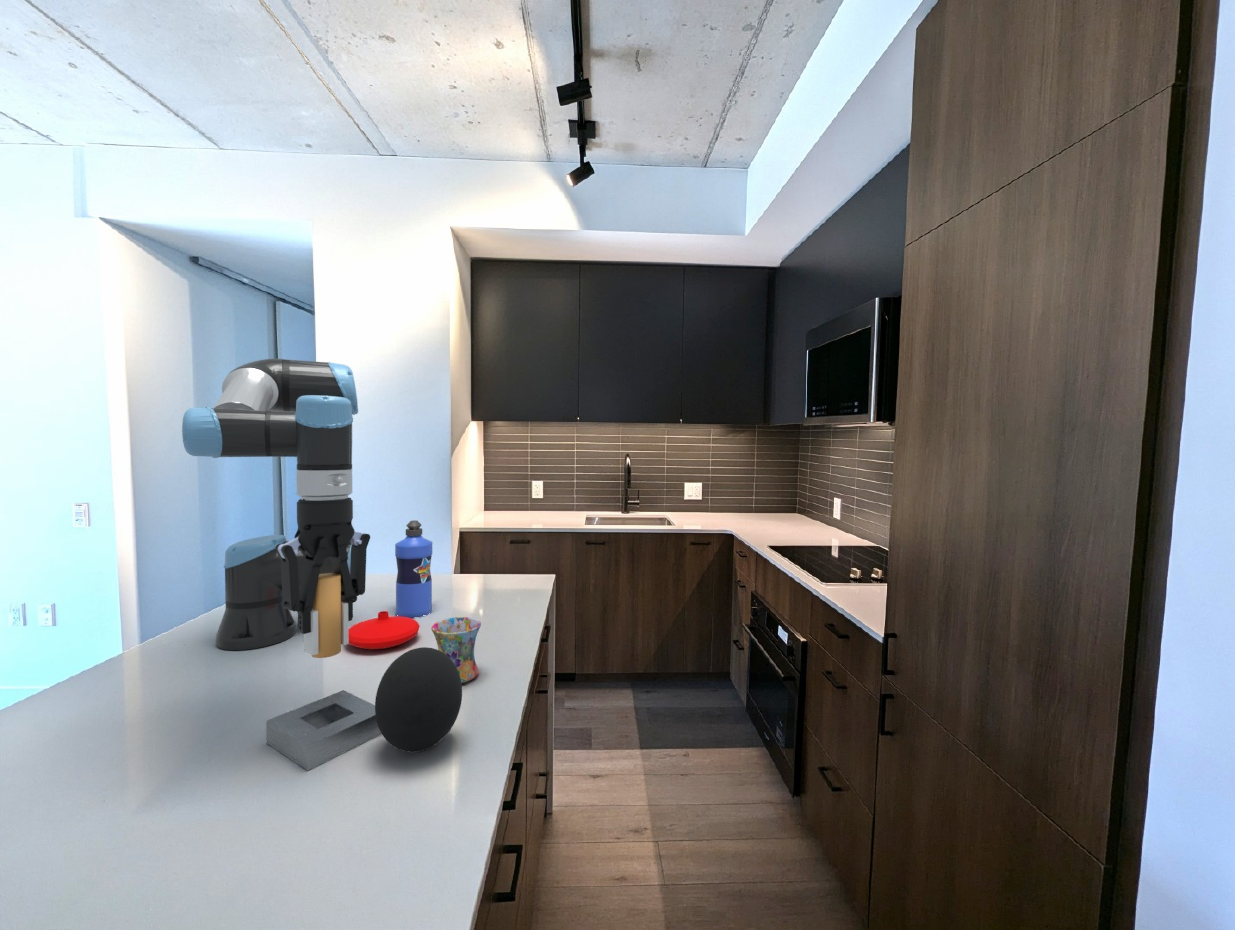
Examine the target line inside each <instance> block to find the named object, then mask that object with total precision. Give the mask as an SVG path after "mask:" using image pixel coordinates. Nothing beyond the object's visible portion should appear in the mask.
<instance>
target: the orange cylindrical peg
mask: <svg viewBox="0 0 1235 930" xmlns="http://www.w3.org/2000/svg"><path fill="white" fill-rule="evenodd" d="M313 610H317V611H318V654H316V655H312V654H311V656H312V658H315V659H325V658H326V659H327V658H330V657H334V656H336V655H338V654H340V653H341V652H342V644H341V575H340V574H337V573H324V574H319V578H318V583H317V588H316V593H315V599H314V604H313Z"/></svg>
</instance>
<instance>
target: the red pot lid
mask: <svg viewBox="0 0 1235 930" xmlns="http://www.w3.org/2000/svg"><path fill="white" fill-rule="evenodd" d="M389 613H390V612H389V611H387V610H382V611H379V612H378V613H377V617H376V618H375V617H374V618H370V619H366V620H363V621H360V622H358V623H356V624H353V625H352V626H351V627H348V640H349V644H348V645H350V646H354V647H356V648H359V649H365V650H383V649H389V648H393V647H397V646H400V645H403V644H404V643H407V641H410V640H411V639H413V638H414V637H416V636H417V635H418V633H419V631H420V627H421V626H420V624H419V622H418V621H417V620H416V619H415V618H408V617H401V616H393V615H392V616H390V615H389Z"/></svg>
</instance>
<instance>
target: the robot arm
mask: <svg viewBox="0 0 1235 930" xmlns="http://www.w3.org/2000/svg"><path fill="white" fill-rule="evenodd" d="M221 393H222V394H221V396H220V397H219V399H218V400H217V402H216V403H215V405H214V407H210V406H205V407H192V408H188V409H187V410H185V412H184V414H183V418H182V423H181V427H182V428H181V432H182V433H181V434H182V435H181V436H182V443H183V447H184V450H185V453H187V454H189V455H190V456H192V457H206V458H207V457H210V458H212V459H218V458H260V457H261V458H268V457H269V458H271V457H272V458H280V457H281V458H296V471H295V473H296V475H295V476H296V478H295V479H296V495H297V496H298V497H300V499H298V500H297V501H296V524H297V530H296V533H295V534H294V538H293V539H291V540H287V538H286V536H285V535H283V534H271V535H263V536H258V537H253V538H248V539H244V540H241V541H237V542H235V543H233V544H231V545H228V547H227V548H226V550H225V553H224V554H225V555H224V565H223V569H224V583H225V585H224V586H225V588H224V590H225V594H224V595H225V596H224V600H225V610H224V613H223V616H222V618H221V621H220V624H219V626H218V629H217V632H216V636H215V639H216V640H215V641H216V644H215V645H216V647H217V648H219V649H222V650H225V651H226V650H227V651H245V650H246V651H247V650H252V649H259V648H264V647H268V646H271V645H272V646H273V645H275V644H279V643H281V642H284V641H286V640H288V639H290V638H292V637H293V636H294V635H295V633H296V621H295V620H294V619H295V618H294V616H293V614H292V612H294V613H295V612H297V630H298V633H300V634H303V652H304V653H305V652H306V653H307V654H310V655H311V656H312V655H316V654H318V611H317V610H313V604H314V599H315V593H316V588H317V583H318V578H319V574H324V573H337V574H340V575H341V646H347V645H350V644H349V640H348V630H349V622H350V621H352V620H353V618H354V613H353V612H354V603H355V602H357V600H358V596H363V595H365V592H366V578H367V577H366V576H367V573H366V572H367V551H368V550H367V549H368V545H369V542H370V540H371V535H370V534H369V533H366V532H365V533H363V532H358V531H355V528H354V526H353V524H352V521H353V518H354V503H353V502H354V500H353V499H352V497H349V496H350V495H352V494H353V422H354V416H355V415H358V414H359V405H358V397H357V388H356V383H355V378H354V373H353V370H352V369H351V367H350V366H348V365H346V364H342V363H335V362H330V361H328V362H327V361H326V362H325V361H314V360H313V361H312V360H311V361H310V360H296V359H284V358H267V359H266V358H264V359H260V360H258V359H257V360H255V361H252V362H248V363H244V364H242V365H240V366H238V367H236V368H234V369H232V370H231V371H230V372H229V373H228V374H227V375H226V376H225V378H223V381H222V385H221Z"/></svg>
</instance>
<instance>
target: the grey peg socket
mask: <svg viewBox="0 0 1235 930" xmlns="http://www.w3.org/2000/svg"><path fill="white" fill-rule="evenodd" d="M265 724H266V727H265V728H266V729H265V730H266V732H265V733H266V744H267V745H268V746H270V747H272V748H273V749H275V750H276V751H277V752H279V753H280V754H282V755H284V756H285V757H287V758H288V759H289V760H291V761H292V762H293V763H295V764H297V765H298V766H300V767H301V768H303V769H304V770H306V771H310V770H312V769H314V768H316V767H318V766H321V765H322V764H324V763H326V762H328V761H330V760H332V759H334V758H336V757H338V756H340V755H342V754H344V753H345V752H348V751H350V750H352V749H354V748H356V747H358V746H360V745H362V744H364V743H366V742H368V741H370V740H372V739H374V738H375V737H378V736H379V735H382V734H381V732H380V730H379V727H378V724H377V721H376V714H375V704H373V703H371V702H369V701H367V700H365V699H363V698H361V697H359V696H357V695H355V694H353V693H351V692H348V691H346V690H344V689H343V690H341V691H338V692H335V693H332V694H330V695H328V696H325V697H323V698H321V699H318V700H315V701H312V702H310V703H308V704H305V705H303V706H300V707H298V708H296V709H292V710H291V711H288V712H285V713H282V714H281V715H278V716H275V717H273V718H270V719H268V720H265Z"/></svg>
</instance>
